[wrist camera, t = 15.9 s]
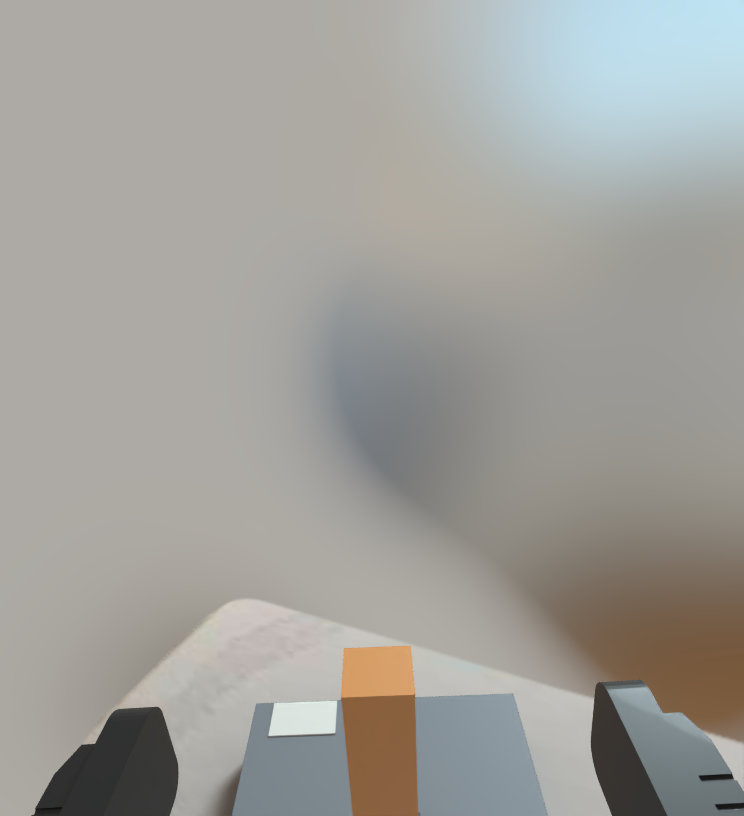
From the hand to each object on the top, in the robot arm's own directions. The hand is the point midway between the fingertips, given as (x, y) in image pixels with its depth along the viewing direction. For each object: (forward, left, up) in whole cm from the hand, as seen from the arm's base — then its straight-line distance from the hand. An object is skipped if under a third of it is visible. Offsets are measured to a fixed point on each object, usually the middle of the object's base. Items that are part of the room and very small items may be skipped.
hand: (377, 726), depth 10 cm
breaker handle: (-8, -5, -23) cm, 25 cm away
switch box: (-12, -7, -28) cm, 31 cm away
